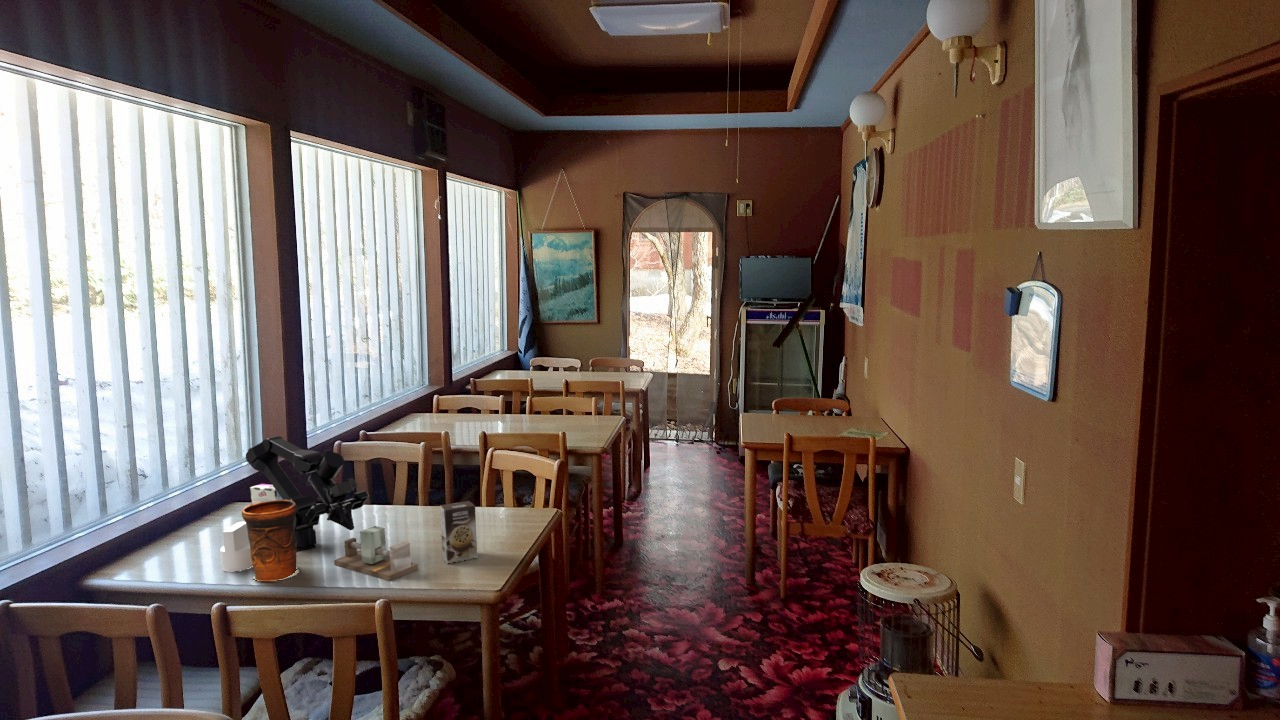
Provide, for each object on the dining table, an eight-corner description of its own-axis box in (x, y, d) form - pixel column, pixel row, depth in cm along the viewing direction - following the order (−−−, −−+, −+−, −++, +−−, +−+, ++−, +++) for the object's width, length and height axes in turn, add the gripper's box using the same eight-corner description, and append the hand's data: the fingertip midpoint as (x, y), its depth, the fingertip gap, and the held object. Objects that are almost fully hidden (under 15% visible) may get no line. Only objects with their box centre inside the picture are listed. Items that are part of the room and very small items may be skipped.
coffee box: (447, 564, 233) (444, 510, 231) (442, 557, 239) (438, 504, 237) (478, 558, 237) (475, 505, 235) (472, 551, 243) (469, 499, 241)
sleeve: (362, 561, 231) (359, 531, 230) (377, 555, 236) (375, 525, 235) (371, 564, 229) (369, 533, 228) (386, 558, 234) (384, 528, 232)
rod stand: (334, 565, 235) (332, 536, 234) (363, 554, 243) (361, 526, 242) (390, 581, 222) (388, 551, 221) (418, 569, 230) (416, 540, 229)
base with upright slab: (232, 560, 240) (228, 521, 239) (262, 560, 240) (258, 521, 239) (215, 572, 231) (211, 531, 230) (246, 572, 231) (243, 531, 230)
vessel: (237, 585, 221) (231, 514, 219) (258, 567, 235) (254, 499, 233) (290, 583, 222) (286, 512, 220) (309, 565, 236) (305, 498, 234)
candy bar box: (291, 534, 263) (287, 485, 260) (279, 539, 258) (275, 489, 256) (265, 531, 267) (261, 482, 265) (253, 536, 262) (249, 486, 260)
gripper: (308, 478, 229) (336, 522, 225) (363, 464, 245) (389, 504, 240) (293, 502, 235) (320, 545, 230) (348, 486, 250) (374, 526, 246)
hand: (352, 529), depth 236 cm, fingers closed
